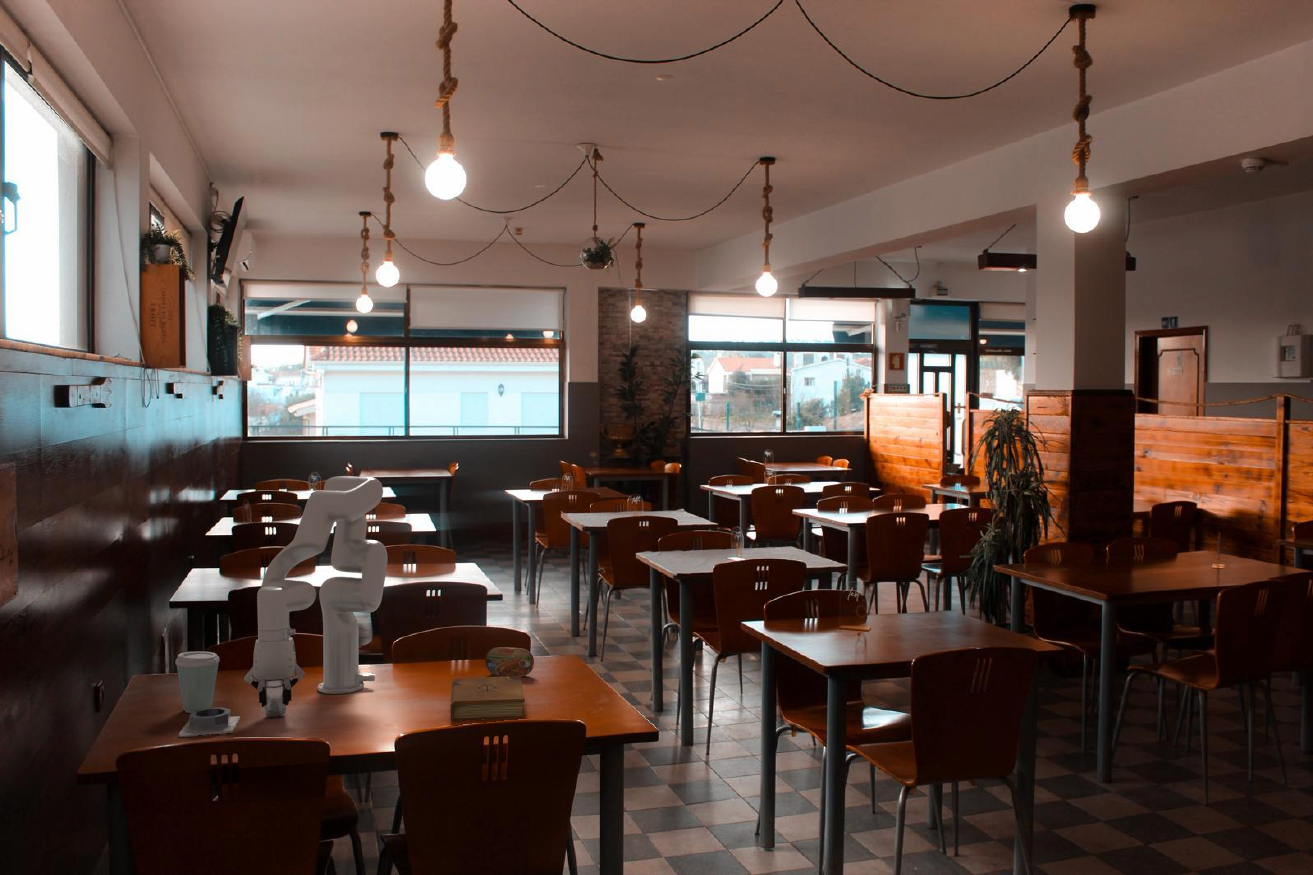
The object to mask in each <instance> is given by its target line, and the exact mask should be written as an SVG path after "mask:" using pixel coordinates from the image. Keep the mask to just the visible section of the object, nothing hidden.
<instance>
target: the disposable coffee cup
mask: <svg viewBox="0 0 1313 875" xmlns="http://www.w3.org/2000/svg"><path fill="white" fill-rule="evenodd" d="M220 660H221V659H220V656H218V654H217V653H215V652H211V651H199V650H198V651H185V652H180V653H179V654H177V658H176V659H175V663H174V664H175V665H176V669H177V676H178V682H179V688H180V695H181V696H180V697H181V702H182V707H183V709H184V711H185V713H190V714H191V713H192V712H193V711H197V710H201V709H204V708H212V705H213V700H214V694H215V687H216V682H217V675H218V670H219V668H218V667H219V664H220V663H219V662H220Z"/></svg>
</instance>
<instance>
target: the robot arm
mask: <svg viewBox="0 0 1313 875" xmlns="http://www.w3.org/2000/svg"><path fill="white" fill-rule="evenodd" d="M383 494H384V488H383V485H382V482H381V481H380V480H379V479H377V478H375V477H371V476H348V475H342V476H341V475H340V476H332V477H330V478H328V479H327V480H326V481H325V483H324V487H323V490H317V491H315V492H312V494H310V495H309V497H308V499H307V501H306V504H305V506H304V510H303V513H302V516H301V519H300V521H299V525H298V527H297V529H296V533H295V536H294V537H293V540H292V541H291V542H290V543H289V544H288V545H286V546H285V547H284V548H283V549H282V550H281V551H280V552H279V553H277V555H275V557H274V558H273V559H272V560H271V562H270V563H269V564H268V566H267V569H266V571H265V573H264V577H263V579H262V583H261V585H260V588H259V589H258V591H257V594H256V595H257V596H256V599H257V600H256V602H257V603H256V605H257V635H258V637H257V638H258V639H256V640H255V644H254V650H253V662H252V663H253V664H252V667H251V668H250V670H249V671H248V672H247V674H245V675H244V678H243V679H244V681H245V682H247V684H250V685H251V686H252V687H253V688H254V689H256V691H257V692H258V703H259V704H261V708H265V680H276V679H284V682H285V705H286V706H289V704H290V702H292V696H293V695H292V688H293V687H294V686H295V685H296V684H297V683H298V682H299V681H300V680H302V679H303V678H304V677H305V675H306V673H305V671H304V670H303V669H302V668H301V667H300V666H299V665H298V663H297V659H296V648H295V647H296V646H295V642H294V639H293V637H291V636H293V635H296V629H295V628H292V627H291V626H290V612H295V611H302V610H303V611H304V610H306V609H308V608H309V607H311V606H312V605H313V604H314V602H315V600H316V599H317V591H316V588H315V586H314V585H313V584H311V582H308V581H304V580H292V579H286V577H287V575H288V574H289V572H291V570H292V569H293V568H294V567H296V566H297V565H298V564H299V563H301V562H304V561H305V560H308V559H310V558H313V557H315V556H317V555H319V554H321V553H323V552H324V551H325V550H326V547H327V545H328V542H329V539H330V536H331V533H332V531H333V530H332V529H333V526H334V525H335V530H334V531H335V532H334V536H333V545H332V550H331V558H330V560H331V561H330V563H331V564H330V565H331V566H332V568H333V569H334V570H336V571H338V572H341V573H342V572H343V573H353V574H361V577H351V576H333V577H330V578H327V579H325V580H324V581H323V582H322V584H321V586H320V588H319V592H318V593H319V594H318V595H319V597H318V598H319V602H320V607H321V613H322V614H321V615H322V623H323V624H322V625H323V627H322V628H323V629H322V630H323V634H322V635H323V636H322V638H323V639H322V640H323V648H322V649H323V654H322V656H323V664H322V665H323V666H322V667H323V669H322V670H323V671H322V672H323V675H322V676H323V682H321V683H319V684H318V685H317V690H318V692H320V693H323V694H331V695H337V694H339V695H340V694H349V693H354V692H358V691H360V690H362V689H364V688H365V682H375V681H376V674H375V673H374V674H372V673H362V672H361V669H360V668H359V664H360V663H359V623H358V619H357V617H356V615H355V613H362V614H369V613H373V612H375V611H377V610H378V608H379V607H380V605H381V602H382V600H383V595H384V594H383V593H384V588H385V587H384V586H385V582H386V581H385V580H386V576H387V568H388V560H389V559H388V557H389V556H388V552H387V549H386V546H385V545H384V543H382V542H381V541H379V540H375V539H366V536H367V529H368V521H367V518H366V515H365V514H367V513H369V512H370V511H371V510H373V509H375V508H376V506H378V505H379V504H380V503H381V501H382V498H383V496H384V495H383ZM335 522H336V524H334V523H335ZM295 673H296V674H297V675H296V676H295Z"/></svg>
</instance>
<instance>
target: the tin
mask: <svg viewBox="0 0 1313 875" xmlns="http://www.w3.org/2000/svg"><path fill="white" fill-rule="evenodd" d="M485 666H486V667H485V668H486V669H487V670H488V672H489V673H491V675H493V676H495V677H505V676H520V677H521V678H523V677H526V676H528V675H529V674H530V673H531V672H532V671H533V669H534V666H535V658H534V656H533V654H532V652H531V651H529V650H528V649H526V648H521V647H508V646H507V647H504V646H499V647H493V648H491V649H490V650H488V652H487V654H486V655H485Z"/></svg>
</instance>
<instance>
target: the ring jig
mask: <svg viewBox="0 0 1313 875" xmlns="http://www.w3.org/2000/svg"><path fill="white" fill-rule="evenodd" d="M231 711H232V709H231V708H226V707H221V706H220V707H219V706H218V707H211V708H204V709H201V710H197V711H193V712H192V713H190V714H189V719H188V721H187V722H186V724H185V725H184V726H183V727H182V729H181V730H180V731H179V733H178V737H179V738H182V737H184V738H185V737H198V735H203V736H212V735H211V734H220V735H224V734H223V733H227V732H230V733H231V732H233V733H234V731H235V730H236V728H237V726H238V724H239V722H240V721H241V716H239V715H238V716H232V715H231V714H232V712H231ZM239 720H240V721H239ZM237 723H238V724H237ZM234 729H235V730H234ZM205 734H206V735H205ZM207 734H209V735H207Z"/></svg>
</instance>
